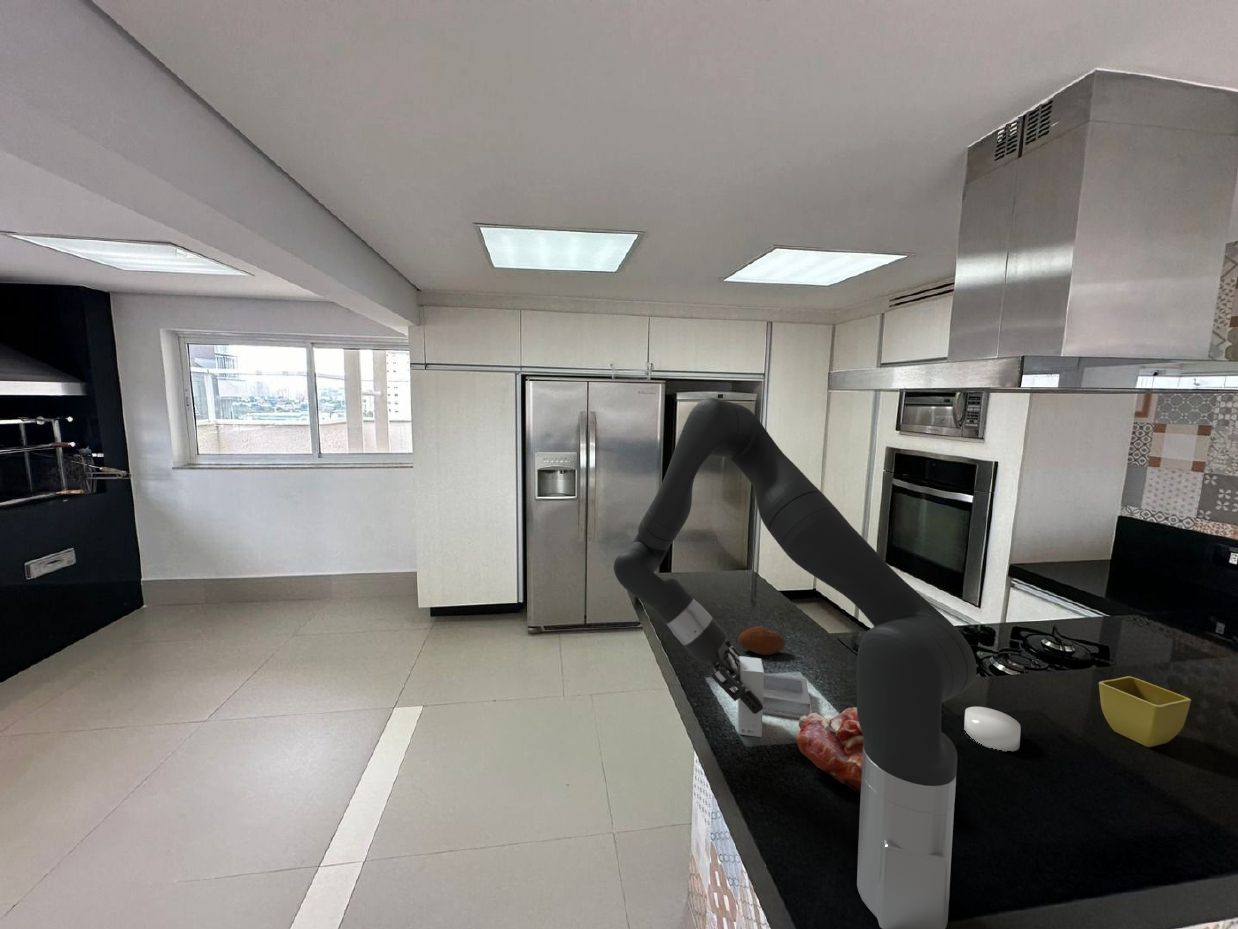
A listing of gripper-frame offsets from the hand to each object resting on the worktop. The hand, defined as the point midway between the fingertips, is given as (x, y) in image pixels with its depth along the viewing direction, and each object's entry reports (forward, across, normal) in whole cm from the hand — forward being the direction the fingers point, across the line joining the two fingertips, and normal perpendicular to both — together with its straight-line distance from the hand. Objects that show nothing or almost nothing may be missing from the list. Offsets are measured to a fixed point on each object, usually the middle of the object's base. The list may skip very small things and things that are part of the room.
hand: (759, 700), depth 91 cm
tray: (+6, +11, +1) cm, 13 cm away
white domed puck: (+32, +10, -25) cm, 42 cm away
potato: (+4, +33, +4) cm, 33 cm away
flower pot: (+51, +18, -43) cm, 69 cm away
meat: (+16, -4, -7) cm, 18 cm away
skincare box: (+3, 0, +5) cm, 6 cm away
